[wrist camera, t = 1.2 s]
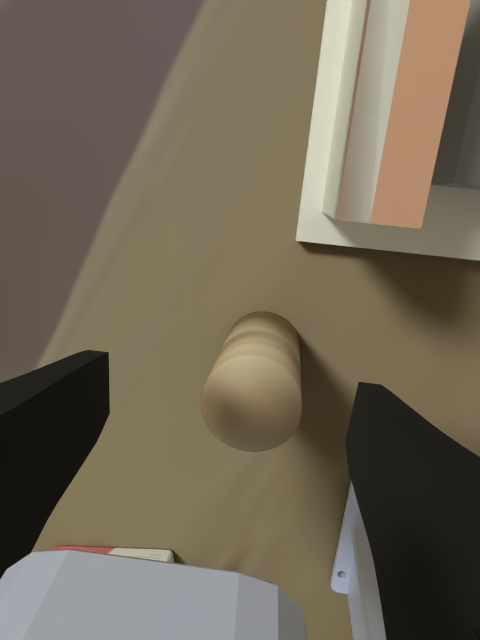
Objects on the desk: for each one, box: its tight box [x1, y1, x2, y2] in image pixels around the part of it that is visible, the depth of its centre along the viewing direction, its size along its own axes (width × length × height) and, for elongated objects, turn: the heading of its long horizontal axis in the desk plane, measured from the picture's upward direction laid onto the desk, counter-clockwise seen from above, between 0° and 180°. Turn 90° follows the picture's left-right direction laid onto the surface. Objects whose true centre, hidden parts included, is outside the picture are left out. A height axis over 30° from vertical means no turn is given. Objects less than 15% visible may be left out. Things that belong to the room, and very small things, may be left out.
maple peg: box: [201, 311, 302, 452], centre depth 20 cm, size 4×4×7 cm
